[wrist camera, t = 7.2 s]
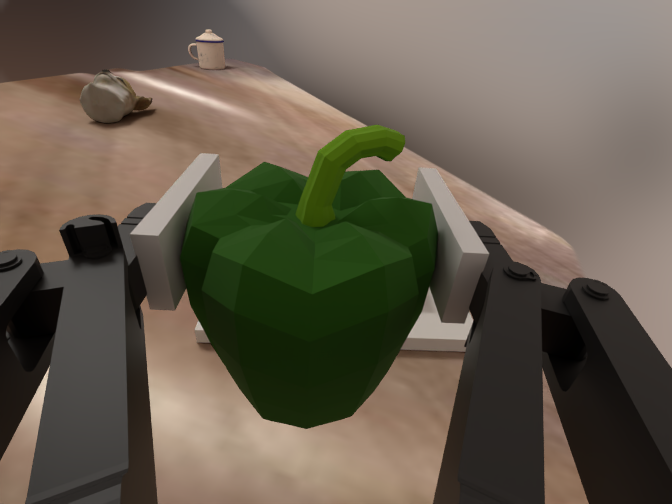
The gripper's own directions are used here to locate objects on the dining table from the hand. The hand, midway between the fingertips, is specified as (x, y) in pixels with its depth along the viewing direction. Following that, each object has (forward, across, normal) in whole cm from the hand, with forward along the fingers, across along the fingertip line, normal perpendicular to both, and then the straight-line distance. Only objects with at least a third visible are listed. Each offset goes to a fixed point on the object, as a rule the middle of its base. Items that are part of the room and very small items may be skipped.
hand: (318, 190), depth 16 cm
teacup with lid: (+131, -42, -16) cm, 139 cm away
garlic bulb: (+61, -40, -15) cm, 75 cm away
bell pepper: (-5, 0, -6) cm, 8 cm away
